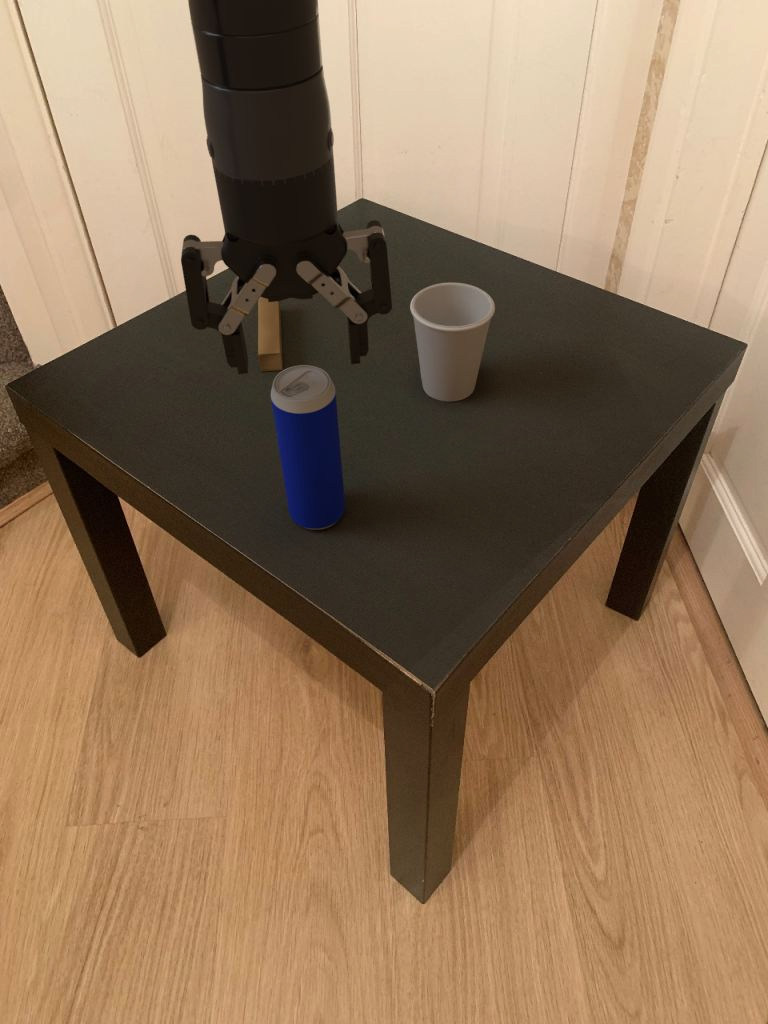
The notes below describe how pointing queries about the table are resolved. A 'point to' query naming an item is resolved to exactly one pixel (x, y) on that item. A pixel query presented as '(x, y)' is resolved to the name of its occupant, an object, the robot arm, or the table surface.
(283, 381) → the beverage can
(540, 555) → the table surface
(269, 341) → the stick
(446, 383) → the dixie cup
